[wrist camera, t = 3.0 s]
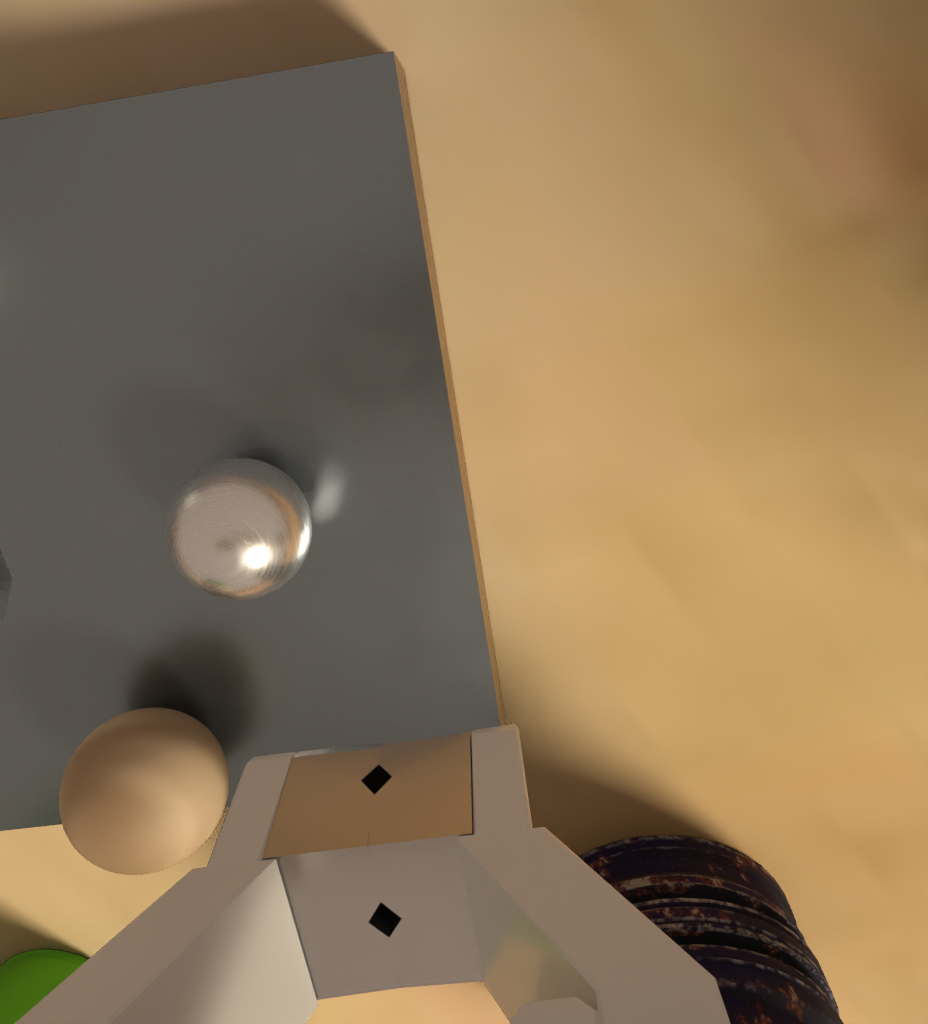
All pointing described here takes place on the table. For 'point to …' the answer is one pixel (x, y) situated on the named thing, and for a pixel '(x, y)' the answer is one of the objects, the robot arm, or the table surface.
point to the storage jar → (723, 924)
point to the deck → (229, 424)
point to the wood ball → (144, 791)
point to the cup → (32, 980)
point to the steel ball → (238, 528)
